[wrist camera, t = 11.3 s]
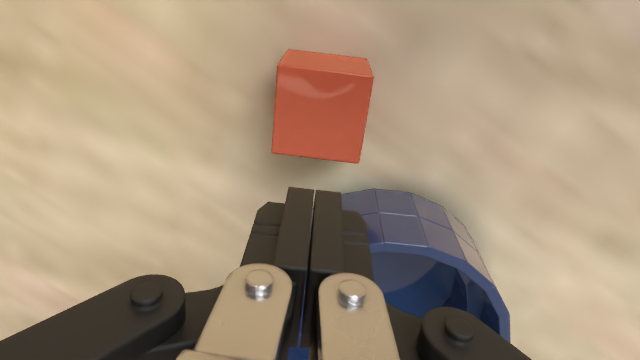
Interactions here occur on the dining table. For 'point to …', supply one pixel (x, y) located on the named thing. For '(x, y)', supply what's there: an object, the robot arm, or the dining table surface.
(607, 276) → the dining table surface
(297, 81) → the block
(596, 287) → the dining table surface
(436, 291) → the bowl
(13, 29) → the dining table surface
